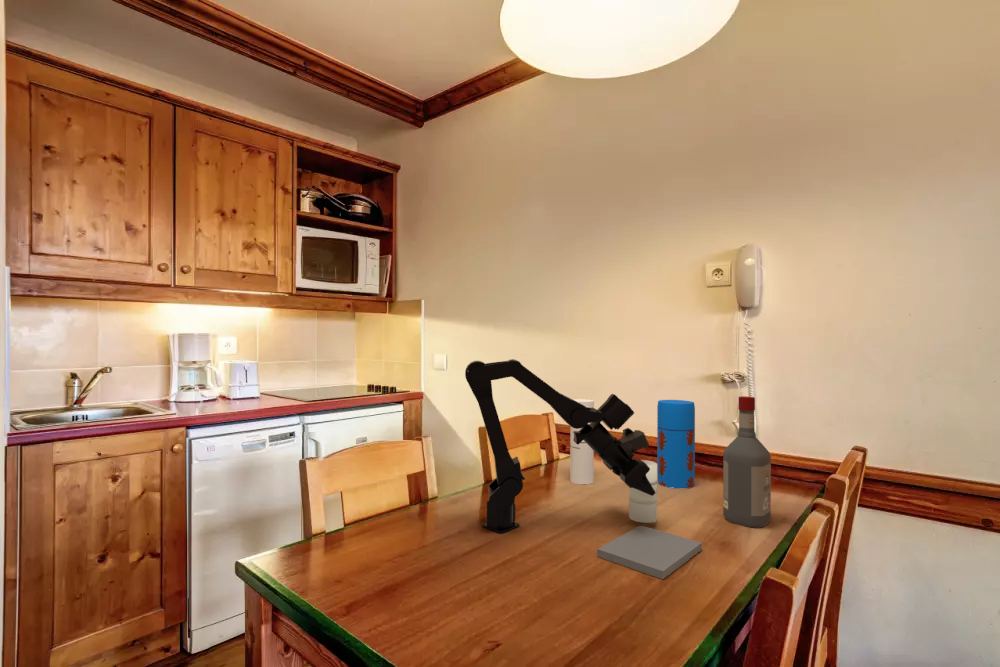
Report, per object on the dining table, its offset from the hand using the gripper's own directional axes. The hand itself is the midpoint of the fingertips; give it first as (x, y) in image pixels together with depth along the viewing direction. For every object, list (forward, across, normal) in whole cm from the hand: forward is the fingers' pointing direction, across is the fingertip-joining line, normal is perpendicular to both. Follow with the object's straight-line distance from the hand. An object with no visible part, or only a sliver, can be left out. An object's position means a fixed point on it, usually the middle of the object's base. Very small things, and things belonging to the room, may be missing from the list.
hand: (648, 489), depth 119 cm
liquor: (+23, +1, -12) cm, 26 cm away
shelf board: (+2, -16, +10) cm, 19 cm away
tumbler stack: (+4, 0, +6) cm, 7 cm away
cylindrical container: (0, +36, +11) cm, 38 cm away
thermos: (+20, +32, -9) cm, 39 cm away
